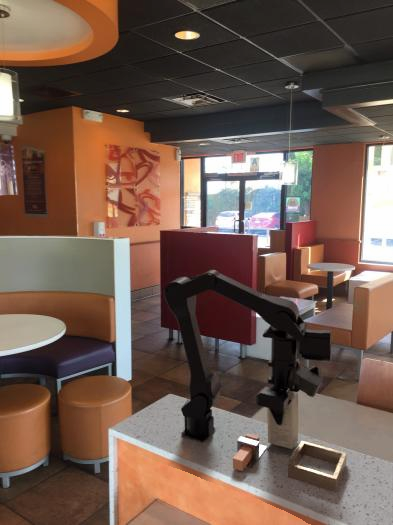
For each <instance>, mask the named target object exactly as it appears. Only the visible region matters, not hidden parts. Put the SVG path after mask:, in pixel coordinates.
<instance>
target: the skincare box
mask: <svg viewBox="0 0 393 525" xmlns="http://www.w3.org/2000/svg"><path fill="white" fill-rule="evenodd" d="M287 392H288V395H289V400H292V401H291V403H290V404H289V405H288V406H287V407H286V408H285V411H284V416H283V421H282V425H278V424H276V422H275V419H274V417H273V415H272V413H271V411H270V409H269V408H267V409H266V412H267V415H266V416H267V443H268V444H275V445H279V446H282V447H286V448H290V449H293V448H294V446H295V445H296V443H298V441H299V391H298V392H293V391H289V390H288V391H287Z"/></svg>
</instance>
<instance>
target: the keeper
mask: <svg viewBox="0 0 393 525" xmlns="http://www.w3.org/2000/svg"><path fill="white" fill-rule="evenodd" d="M236 444H237V446H236V447H237V448H236V452H238V451H239V450H240V449H241V447H242V446H243V445H247V446H250V447H253V457H252V459H251V460H250V461H249V463H248V464H247V465H246V467H245V468H250V469H253V468H254V467H255V465H256V464H257V462H258V461H259V459H260V458H261V457H262V455H263V453H264V452H265V451H266V450H267V448H268V446H266V445H263V444H260V440H259V441H255V440H252V439H248V438H245V436H239V438H238V439H237V443H236Z"/></svg>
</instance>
